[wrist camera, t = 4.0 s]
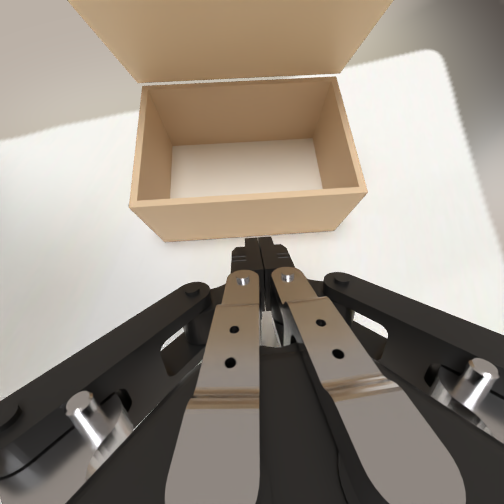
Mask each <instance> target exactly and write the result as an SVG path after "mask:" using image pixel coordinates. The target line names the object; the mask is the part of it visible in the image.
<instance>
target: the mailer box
mask: <svg viewBox="0 0 504 504" xmlns="http://www.w3.org/2000/svg"><path fill="white" fill-rule="evenodd" d="M367 193H368V191H367V188H366V184H365V180H364V177H363V173H362V169H361V166H360V162H359V158H358V155H357V151H356V147H355V144H354V140H353V137H352V133H351V129H350V126H349V122H348V118H347V115H346V111H345V107H344V104H343V100H342V96H341V93H340V89H339V86H338V82H337V78H336V77H317V78H297V79H276V80H255V81H236V82H214V83H195V84H173V85H152V86H142V93H141V102H140V111H139V120H138V129H137V138H136V147H135V156H134V165H133V174H132V183H131V192H130V201H129V208H130V209H131V210H132V211H133V212H134V213H135V214H136V215H137V216H138V217H139V218H140V219H141V220H142V221H143V222H144V223H145V224H146V225H147V226H148V227H150V228H151V229H152V230H153V231H154V232H155V233H156V234H157V235H158V236H159V237H160V238H161V239H162V240H163V241H164V242H174V241H189V240H204V239H218V238H233V237H248V236H263V235H277V234H292V233H307V232H322V231H334V230H335V229H336V228H337V227H338V226H339V225H340V223H341V222H342V221H343V220H344V219H345V218H346V217H347V216H348V214H349V213H350V212H351V211H352V210H353V209H354V208H355V207H356V205H357V204H358V203H359V202H360V201H361V200H362V199H363V197H364V196H365V195H366V194H367Z"/></svg>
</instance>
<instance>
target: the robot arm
mask: <svg viewBox="0 0 504 504" xmlns="http://www.w3.org/2000/svg"><path fill="white" fill-rule="evenodd" d="M264 300H265V302H264ZM265 307H266V311H272V325H273V328H274V332H275V335H276V338H277V342H278V345H279V348H274V347H266V346H261V319H262V311H265ZM355 312H357V313H359V314H361V315H363V316H365V317H367V318H369V319H371V320H373V321H375V322H377V323H379V324H381V325H382V326H383V327H384V328H385V329H386V330H387V332H388V339H387V338H385V337H383V336H381V335H379V334H377V333H375V332H373V331H372V330H370V329H368V328H366V327H364V326H362V325H360V324H359V323H357V322H355V321H353V318H354V313H355ZM182 327H183V328H184V332H183V333H182V334H181V335H180V336H179V337H177V338H176V339H175V340H174V341H173V342H171V343H170V344H169V345H168V346H166V347H165V348H164V349H163V350H162V351H160V350H161V347H162V345H163V344H164V342H165V341H166V340H167V339H169V338H170V337H171V336H172V335H174V334H175V333H176V332H177V331H179V330H180V329H181V328H182ZM202 359H203V360H202ZM201 360H202V363H201V364H199V365H198V366H196V365H197V364H198V363H199V362H200V361H201ZM195 366H196V367H195ZM194 367H195V368H194ZM151 411H152V412H151ZM150 412H151V413H150ZM149 413H150V414H149ZM148 414H149V415H148ZM147 415H148V416H147ZM146 416H147V417H146ZM145 417H146V418H145ZM144 418H145V419H144ZM143 419H144V420H143ZM142 420H143V421H142ZM141 421H142V422H141ZM140 422H141V423H140ZM139 423H140V424H139ZM138 424H139V425H138ZM137 425H138V426H137ZM136 426H137V428H136V429H135V430H134V431H133V429H134V428H135V427H136ZM0 499H1V502H2V504H504V335H501V334H499V333H496V332H494V331H491V330H489V329H486V328H484V327H481V326H479V325H476V324H474V323H471V322H469V321H466V320H463V319H461V318H458V317H456V316H453V315H451V314H448V313H446V312H443V311H441V310H438V309H436V308H433V307H431V306H428V305H426V304H423V303H420V302H418V301H415V300H413V299H410V298H408V297H405V296H403V295H400V294H398V293H395V292H393V291H390V290H388V289H385V288H383V287H380V286H377V285H375V284H372V283H370V282H367V281H365V280H362V279H360V278H357V277H355V276H352V275H350V274H347V273H342V272H333V273H329V274H327V275H326V276H325V277H324V281H315V280H309V279H306V277H305V276H304V274H303V273H302V272H301V271H300V270H299V269H296V268H295V266H294V264H293V262H292V260H291V257H290V255H289V254H288V251H287V248H286V247H284V246H283V245H281V244H277V245H274V244H273V241H272V238H271V237H258V238H245V247H236V248H235V249H234V250H233V251H232V262H231V274H230V275H229V276H228V277H227V281H226V284H224V285H222V286H220V287H217V288H214V289H210V288H209V286H208V285H207V284H205V283H202V282H192V283H188V284H185V285H183V286H181V287H180V288H178V289H177V290H175V291H174V292H172V293H170V294H169V295H167V296H166V297H164V298H162V299H161V300H159V301H158V302H156V303H155V304H153V305H151V306H150V307H148V308H147V309H145V310H144V311H142V312H140V313H139V314H137V315H136V316H134V317H132V318H131V319H129V320H128V321H126V322H125V323H123V324H121V325H120V326H118V327H117V328H115V329H114V330H112V331H110V332H109V333H107V334H106V335H104V336H102V337H101V338H99V339H98V340H96V341H95V342H93V343H91V344H90V345H88V346H87V347H85V348H84V349H82V350H80V351H79V352H77V353H76V354H74V355H73V356H71V357H69V358H68V359H66V360H65V361H63V362H61V363H60V364H58V365H57V366H55V367H54V368H52V369H50V370H49V371H47V372H46V373H44V374H43V375H41V376H39V377H38V378H36V379H35V380H33V381H31V382H30V383H28V384H27V385H25V386H24V387H22V388H20V389H19V390H17V391H16V392H14V393H13V394H11V395H9V396H8V397H6V398H5V399H3V400H1V401H0Z"/></svg>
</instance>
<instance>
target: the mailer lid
mask: <svg viewBox="0 0 504 504" xmlns="http://www.w3.org/2000/svg"><path fill="white" fill-rule="evenodd" d="M67 1H68V2H69V3H70V4H71V5H72V6H73V8H74V9H75V10H76V11H77V12H78V13H79V15H80V16H81V17H82V18H83V19H84V20H85V22H86V23H87V24H88V25H89V26H90V28H91V29H92V30H93V31H94V32H95V33H96V35H97V36H98V37H99V38H100V39H101V40H102V42H103V43H104V44H105V45H106V46H107V47H108V49H109V50H110V51H111V52H112V53H113V54H114V56H115V57H116V58H117V59H118V60H119V62H120V63H121V64H122V65H123V66H124V67H125V68H126V70H127V71H128V72H129V73H130V74H131V76H132V77H133V78H134V79H135V80H136V81H137V82H138V83H148V82H149V83H150V82H170V81H190V80H191V81H192V80H210V79H211V80H212V79H232V78H254V77H274V76H295V75H316V74H337V73H341V71H342V70H343V69H344V67H345V66H346V64H347V63H348V62H349V60H350V59H351V58H352V56H353V55H354V54H355V52H356V51H357V49H358V48H359V47H360V45H361V44H362V43H363V41H364V40H365V39H366V37H367V36H368V34H369V33H370V32H371V30H372V29H373V28H374V26H375V25H376V24H377V22H378V21H379V19H380V18H381V17H382V15H383V14H384V13H385V11H386V10H387V9H388V7H389V6H390V4H391V3H392V2H393V0H67Z"/></svg>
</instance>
